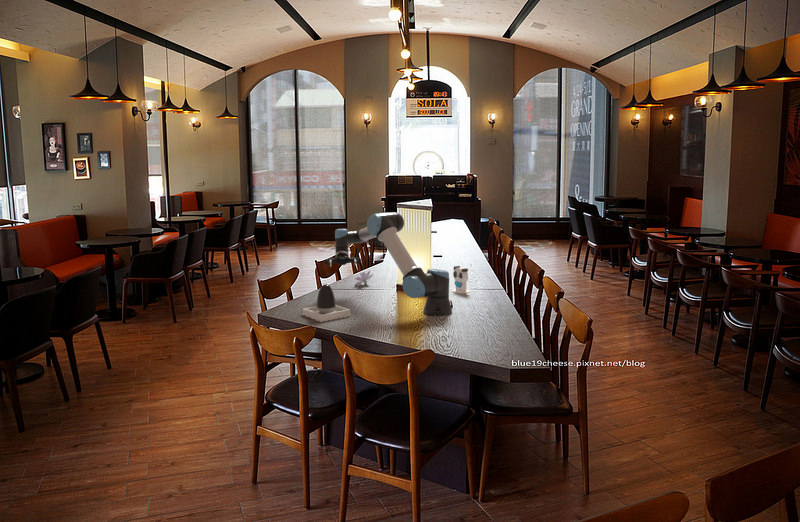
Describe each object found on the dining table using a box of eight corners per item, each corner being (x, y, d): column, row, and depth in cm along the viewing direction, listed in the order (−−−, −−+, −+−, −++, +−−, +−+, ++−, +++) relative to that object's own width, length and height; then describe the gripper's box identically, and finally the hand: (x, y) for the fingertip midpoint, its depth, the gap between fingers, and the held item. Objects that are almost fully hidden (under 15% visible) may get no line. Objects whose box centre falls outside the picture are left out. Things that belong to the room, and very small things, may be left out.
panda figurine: (447, 290, 390) (448, 266, 387) (463, 288, 395) (464, 264, 392) (457, 294, 379) (457, 269, 377) (473, 292, 384) (474, 268, 381)
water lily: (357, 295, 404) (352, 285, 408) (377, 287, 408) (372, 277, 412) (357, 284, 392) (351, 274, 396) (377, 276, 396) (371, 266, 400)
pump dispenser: (336, 310, 336) (336, 282, 333) (335, 315, 326) (334, 286, 323) (317, 310, 336) (316, 282, 333) (315, 315, 325) (314, 286, 323)
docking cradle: (350, 316, 329) (350, 309, 329) (321, 322, 318) (320, 315, 318) (331, 309, 343) (331, 303, 343) (302, 315, 332) (302, 308, 331)
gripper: (363, 263, 367) (366, 269, 346) (320, 264, 364) (320, 271, 343) (363, 250, 366) (365, 256, 345) (320, 252, 363) (319, 257, 342)
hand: (343, 263), depth 344 cm, fingers open, 13 cm apart
